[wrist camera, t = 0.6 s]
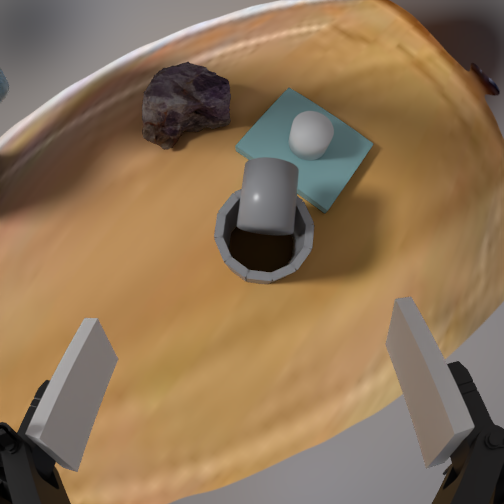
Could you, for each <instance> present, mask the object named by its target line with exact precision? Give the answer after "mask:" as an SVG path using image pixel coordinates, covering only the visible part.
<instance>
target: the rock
mask: <svg viewBox="0 0 504 504" xmlns="http://www.w3.org/2000/svg"><path fill="white" fill-rule="evenodd" d="M230 98H231V94H230V85H229V81H228V80H227V79H225V78H223V77H220V76H218V75H216V73H214V72H211V71H209V70H207V68H206V67H203V66H199V65H194V64H190V63H189V62H186V63H182V64H179V65H176V66H171V67H168V68H163V69H162V70H161V71H159V72H158V73H157V74H156V75H154V78H153V79H152V81H151V83H150V84H149V86H148V87H147V89H146V91H145V92H144V98H143V105H142V120H143V130H142V134H143V137H144V138H145V139H146V140H147V141H150V142H152V143H154V144H157V145H159V146H161V147H162V148H163V149H169V148H173V146H174V145H175V143H176V142H177V141H178V139H179V137H180V136H181V135H182V133H183V131H188V132H198V131H200V130H202V129H203V128H205V127H210V128H212V129H214V128H218V127H221V126H227V125H228V124H229V123H230V121H231V120H230V114H229V111H230V109H229V105H230Z"/></svg>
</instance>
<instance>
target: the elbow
mask: <svg viewBox="0 0 504 504" xmlns="http://www.w3.org/2000/svg"><path fill="white" fill-rule="evenodd" d="M298 176H299V169H298V167H297V166H296V165H294V164H293V163H291V162H288V161H285V160H282V159H278V158H269V157H262V158H255V159H251V160H249V161H247V162H246V164H245V169H244V176H243V183H242V189H240V190H238V191H236V192H234V193H235V194H234V193H233V194H232V195H231V196H230V197H229V199H228V200H227V201H226V202H225V204H224V205H223V206H222V207H221V209H220V210H219V211H218V212H219V213H217V220H216V227H215V234H214V238H215V241H216V244H217V246H218V249H219V251H220V253H221V256H222V258H223V261H224V262H225V264H226V265H227V266H228V267H229V269H230V270H231V271H233V272H234V273H235V274H236V275H238V276H239V277H240V278H242V279H243V280H244V281H247V282H251V283H259V284H269V283H272V282H274V281H276V280H278V279H281V278H283V277H285V276H287V275H289V274H291V273H293V272H295V271H297V270H298V268H299V267H300V266H301V264H302V263H303V262H304V260H305V259H306V257H307V256H308V255H309V253H310V252H311V249H312V245H313V234H314V225H313V224H314V222H313V220H312V218H311V216H310V214H309V211H308V209H307V207H306V205H305V203H304V202H302V201H303V200H302V199H300V198H299V197H298V196H297V188H298ZM236 226H237V227H238V228H239V229H242V230H244V231H248V232H252V233H257V234H263V235H290V234H291V237H292V239H293V249H292V257H291V259H290V260H289V262H288V263H287V264H286V266H285V267H283V268H280V269H278V270H276V271H273V272H263V271H254V270H248V269H247V268H246V267H244V266H243V265H242V264H240V263H239V262H238V261H236V260H235V259H234V258H232V256H231V254H230V251H229V245H230V237H231V233H232V231H233V230H234V229H235V227H236Z"/></svg>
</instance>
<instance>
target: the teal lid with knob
mask: <svg viewBox="0 0 504 504" xmlns="http://www.w3.org/2000/svg"><path fill="white" fill-rule="evenodd" d="M372 146H373V143H372V142H370V141H369V140H368V139H366V138H365V137H364V136H362V135H361V134H359V133H358V132H357V131H355V130H354V129H352V128H351V127H350V126H348V125H347V124H345V123H344V122H342V121H341V120H339V119H338V118H336V117H335V116H333V115H332V114H330V113H329V112H327V111H326V110H324V109H323V108H321V107H320V106H318V105H317V104H315V103H314V102H312V101H310V100H309V99H307V98H306V97H304V96H302V95H301V94H299V93H297V92H296V91H294V90H292V89H291V88H288V89H287V90H286V91H285V92H284V93H283V94H282V95H281V96H280V97H279V98H278V99H277V100H276V101H275V103H274V104H273V105H272V106H271V107H270V108H269V109H268V110H267V111H266V112H265V113H264V114H263V116H262V117H261V118H260V119H259V120H258V121H257V122H256V123H255V124H254V125H253V127H252V128H251V129H250V130H249V131H248V132H247V133H246V134H245V136H244V137H243V138H242V139H241V140H240V141H239V142H238V144H237V145H236V146H235V147H236V151H237V152H238V153H240V154H241V155H243V156H244V157H246V158H247V159H249V160H251V159H255V158H262V157H269V158H278V159H282V160H285V161H288V162H291V163H293V164H294V165H296V166H297V167H298V169H299V176H298V188H297V194H299V195H300V196H302V197H303V198H304V199H306V200H307V201H308V202H310V203H311V204H313V205H314V206H315V207H317V208H318V209H319V210H321V211H322V212H323V213H326V212H327V211H328V210H329V208H330V207H331V205H332V204H333V202H334V201H335V200H336V198H337V197H338V195H339V194H340V192H341V191H342V189H343V188H344V187H345V185H346V184H347V182H348V181H349V179H350V178H351V176H352V175H353V174H354V172H355V171H356V169H357V168H358V166H359V165H360V163H361V162H362V160H363V159H364V157H365V156H366V154H367V153H368V151H369V150H370V149H371V147H372Z"/></svg>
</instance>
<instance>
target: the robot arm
mask: <svg viewBox="0 0 504 504" xmlns="http://www.w3.org/2000/svg"><path fill="white" fill-rule="evenodd" d="M8 91H9V84H8V81H7V79H6V77H5V75H4V74H3V72H2V70H1V68H0V103H1V102H2V101H3V100H4V99H5V98H6V96H7V94H8ZM386 347H387V350H388V352H389V355H390V358H391V360H392V363H393V366H394V369H395V371H396V374H397V377H398V380H399V383H400V386H401V389H402V392H403V394H404V397H405V400H406V403H407V406H408V409H409V412H410V416H411V419H412V422H413V425H414V428H415V432H416V435H417V438H418V442H419V445H420V448H421V452H422V455H423V459H424V462H425V466H426V468H429V467H433V466H436V465H439V464H442V463H444V462H445V461H446V460H447V459H448V458H449V457H451V461H452V464H451V465H450V466H449V467H448V468H447V469H446V470H445V472H444V473H443V475H445V474H446V473H447V474H446V476H445V478H444V481H443V483H442V485H441V487H440V489H439V491H438V493H437V495H436V497H435V499H434V500H433V502H432V504H504V429H503V428H501V427H500V426H497V425H495V424H494V423H493V422H492V420H491V418H490V416H489V413H488V411H487V409H486V407H485V405H484V402H483V400H482V398H481V396H480V394H479V392H478V391H477V388H476V386H475V384H474V383H473V379H472V377H471V376H470V374H469V372H468V370H467V369H466V368H465V367H464V366H463V365H462V364H461V363H460V362H459V361H457V362H453V363H449V364H447V363H446V361H445V359H444V357H443V355H442V353H441V351H440V349H439V347H438V345H437V343H436V341H435V340H434V338H433V336H432V334H431V332H430V330H429V328H428V326H427V324H426V323H425V321H424V319H423V317H422V315H421V313H420V312H419V310H418V308H417V306H416V304H415V303H414V301H413V299H412V297H405V298H398V299H395V302H394V307H393V312H392V317H391V322H390V327H389V331H388V336H387V340H386ZM117 361H118V357H117V356H116V354H115V352H114V350H113V348H112V346H111V344H110V342H109V340H108V338H107V336H106V334H105V332H104V330H103V328H102V326H101V324H100V322H99V320H98V318H85V319H84V320H83V322H82V324H81V325H80V327H79V329H78V331H77V332H76V334H75V336H74V338H73V339H72V341H71V343H70V345H69V347H68V348H67V350H66V352H65V354H64V356H63V358H62V359H61V361H60V363H59V365H58V367H57V369H56V371H55V373H54V375H53V377H52V378H51V380H50V381H49V380H46V381H45V382H44V383H43V384H42V385H41V386H40V387H39V388H38V390H37V392H36V394H35V396H34V399H33V400H32V402H31V404H30V405H31V406H29V409H28V411H27V413H26V415H25V417H24V419H23V421H22V423H21V426H20V428H19V430H18V432H17V433H16V432H15V431H14V430H13V429H12V428H11V427H10V426H9V425H8V424H7V423H4V422H1V423H0V504H71V503H70V501H69V498H68V496H67V493H66V491H65V489H64V486H63V484H62V481H61V478H60V476H59V473H58V471H57V469H56V467H55V466H54V465H55V462H57V463H58V464H59V465H61V466H62V467H63V468H66V469H69V470H73V471H76V472H78V469H79V466H80V462H81V459H82V456H83V453H84V450H85V447H86V444H87V441H88V438H89V435H90V432H91V430H92V427H93V424H94V421H95V418H96V415H97V413H98V410H99V407H100V405H101V402H102V399H103V396H104V394H105V391H106V389H107V386H108V383H109V381H110V378H111V376H112V373H113V371H114V368H115V366H116V363H117Z"/></svg>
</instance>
